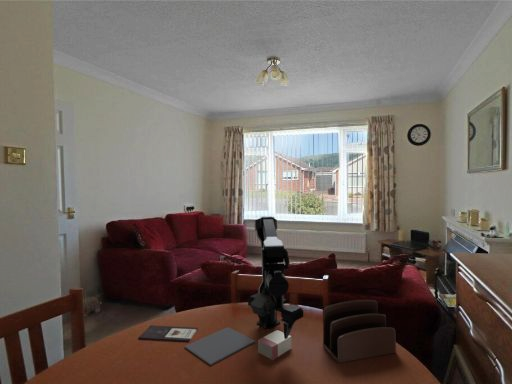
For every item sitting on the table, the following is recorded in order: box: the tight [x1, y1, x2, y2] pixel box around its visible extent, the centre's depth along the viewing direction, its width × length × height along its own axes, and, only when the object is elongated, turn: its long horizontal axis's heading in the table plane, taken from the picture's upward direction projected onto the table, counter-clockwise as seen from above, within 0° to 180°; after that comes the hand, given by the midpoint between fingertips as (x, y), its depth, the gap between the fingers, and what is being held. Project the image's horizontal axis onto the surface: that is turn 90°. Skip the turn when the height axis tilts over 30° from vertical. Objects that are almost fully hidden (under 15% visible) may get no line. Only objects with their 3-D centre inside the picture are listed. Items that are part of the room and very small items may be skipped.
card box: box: [257, 329, 292, 361], centre depth 97 cm, size 9×6×4 cm, turn 135°
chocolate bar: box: [137, 325, 199, 343], centre depth 108 cm, size 9×1×18 cm
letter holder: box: [322, 299, 397, 364], centre depth 96 cm, size 10×20×14 cm, turn 104°
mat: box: [184, 326, 256, 367], centre depth 100 cm, size 18×14×1 cm
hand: (274, 333), depth 97 cm, fingers open, 9 cm apart
